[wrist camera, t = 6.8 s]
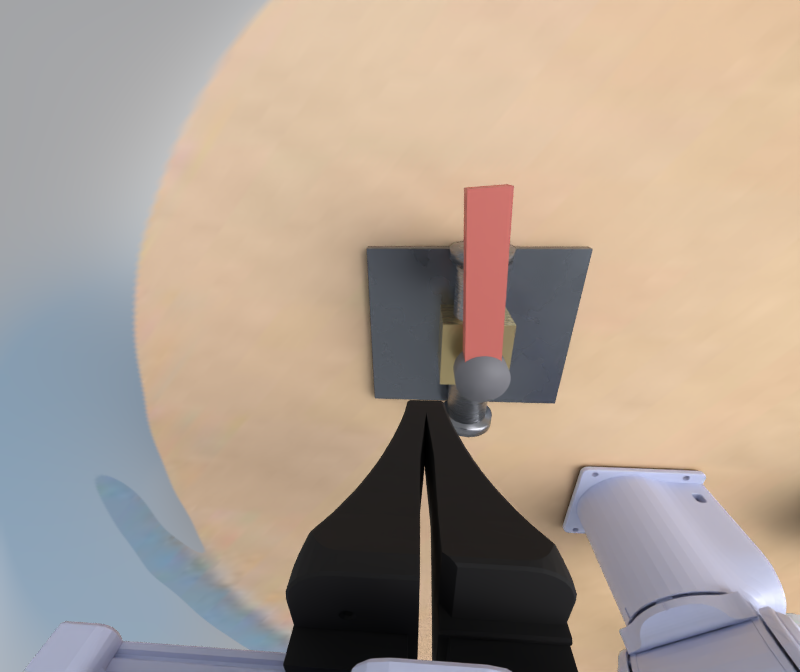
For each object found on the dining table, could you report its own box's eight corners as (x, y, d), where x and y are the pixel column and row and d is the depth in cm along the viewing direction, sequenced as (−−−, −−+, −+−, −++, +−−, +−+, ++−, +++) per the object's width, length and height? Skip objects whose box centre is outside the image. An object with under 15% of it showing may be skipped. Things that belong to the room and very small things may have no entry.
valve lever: (503, 388, 19) (508, 401, 18) (453, 389, 19) (455, 402, 18) (519, 183, 14) (527, 184, 13) (452, 188, 15) (454, 190, 13)
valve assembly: (367, 237, 20) (354, 256, 16) (589, 238, 20) (632, 257, 16) (376, 398, 26) (367, 441, 22) (550, 403, 25) (574, 449, 21)
